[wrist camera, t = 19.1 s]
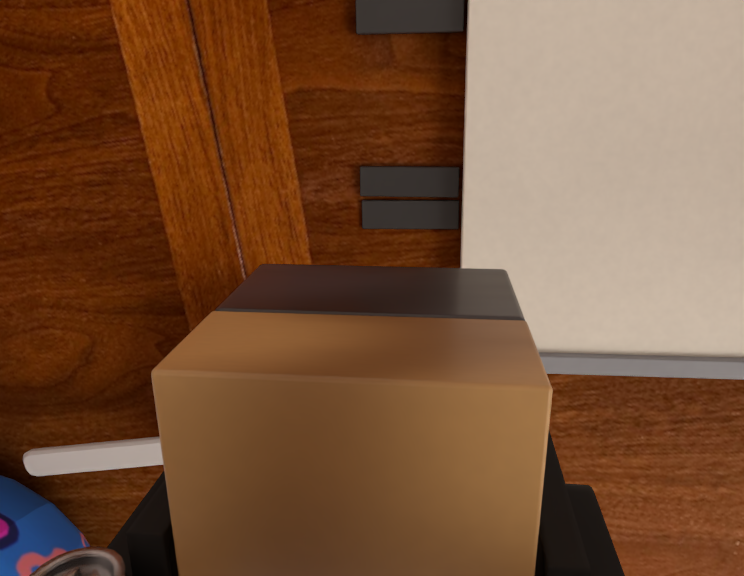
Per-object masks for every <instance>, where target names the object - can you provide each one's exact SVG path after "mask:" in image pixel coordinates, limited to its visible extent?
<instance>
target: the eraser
mask: <svg viewBox="0 0 744 576" xmlns="http://www.w3.org/2000/svg"><path fill="white" fill-rule="evenodd" d="M151 378H152V385H153V392H154V400H155V407H156V414H157V422H158V429H159V436H160V443H161V451H162V458H163V465H164V472H165V480H166V487H167V494H168V501H169V509H170V516H171V523H172V531H173V538H174V545H175V552H176V560H177V567H178V574H179V576H535V566H536V556H537V545H538V535H539V525H540V515H541V505H542V494H543V484H544V474H545V464H546V454H547V444H548V433H549V423H550V413H551V403H552V393H553V389H552V387H551V384H550V381H549V379H548V376H547V374H546V371H545V368H544V366H543V363H542V360H541V358H540V355H539V353H538V350H537V347H536V345H535V342H534V339H533V337H532V334H531V331H530V329H529V326H528V324H527V322H526V321H525V319H524V316H523V313H522V311H521V308H520V305H519V303H518V300H517V297H516V295H515V292H514V289H513V287H512V284H511V281H510V279H509V276H508V273H507V271H506V270H503V269H472V268H427V267H382V266H337V265H292V264H262V265H260V266H259V267H258V268H257V269H256V270H255V271H254V272H253V273H252V274H251V275H250V276H249V277H248V278H247V279H246V280H245V281H244V282H242V283H241V284H240V285H239V286H238V287H237V288H236V289H235V290H234V291H233V292H232V293H231V294H230V295H229V296H228V297H227V298H226V299H225V300H224V301H223V302H222V303H221V304H220V305H219V306H218V307H217V308H216V310H215V311H213V312H211V313H210V314H209V315H208V316H207V317H206V318H205V319H204V320H203V321H202V322H201V323H200V324H198V325H197V326H196V327H195V328H194V329H193V330H192V331H191V332H190V333H189V334H188V335H187V336H186V337H185V338H184V339H183V340H182V341H181V342H180V343H179V344H178V345H177V346H176V347H175V348H174V349H173V350H172V351H171V352H170V353H169V354H168V355H167V356H166V357H165V358H164V359H163V360H162V361H161V362H160V363H159V364H158V365H157V366H156V367H155V368H154V369H153V370H152V373H151Z"/></svg>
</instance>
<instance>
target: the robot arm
mask: <svg viewBox="0 0 744 576" xmlns="http://www.w3.org/2000/svg"><path fill="white" fill-rule="evenodd" d="M29 576H179V574H178V567H177V560H176V552H175V545H174V538H173V531H172V523H171V516H170V509H169V501H168V494H167V487H166V480H165V472H163V473H162V474H161V476H160V477H159V478H158V480H157V481H156V482H155V484H154V485H153V486H152V488H151V489H150V491H149V492H148V493H147V495H146V496H145V497H144V499H143V500H142V501H141V503H140V504H139V505H138V507H137V508H136V509H135V511H134V512H133V513H132V515H131V516H130V517H129V519H128V520H127V522H126V523H125V524H124V526H123V527H122V528H121V530H120V531H119V532H118V534H117V535H116V536H115V538H114V539H113V540H112V542H111V543H110V544H109V546H108V547H107V548H105V547H84V548H79V549H73V550H71V551H68V552H65V553H63V554H60V555H57V556H56V557H54V558H52V559H50V560H49V561H47V562H45V563H44V564H42V565H41V566H40V567H38V568H37V569H36V570H35V571H34V572H33V573H31V574H30V575H29ZM535 576H625V575H624V573H623V570H622V567H621V564H620V562H619V559H618V556H617V554H616V551H615V548H614V545H613V543H612V540H611V537H610V534H609V532H608V529H607V526H606V524H605V521H604V518H603V515H602V513H601V510H600V507H599V504H598V502H597V499H596V496H595V494H594V491H593V489H592V487H590V486H589V485H577V484H565V481H564V478H563V475H562V471H561V468H560V465H559V461H558V458H557V455H556V451H555V448H554V445H553V441H552V438H551V435H550V432H549V433H548V444H547V454H546V464H545V474H544V484H543V494H542V505H541V515H540V525H539V535H538V545H537V556H536V566H535Z"/></svg>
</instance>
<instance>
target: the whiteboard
mask: <svg viewBox="0 0 744 576" xmlns="http://www.w3.org/2000/svg"><path fill="white" fill-rule="evenodd" d="M460 268H472V269H503V270H506V271H507V273H508V276H509V279H510V281H511V284H512V287H513V289H514V292H515V295H516V297H517V300H518V303H519V305H520V308H521V311H522V313H523V316H524V319H525V321H526V322H527V324H528V326H529V329H530V331H531V334H532V337H533V339H534V342H535V345H536V347H537V350H538V353H539V355H540V358H541V360H542V363H543V366H544V368H545V371H546V373H548V374H580V375H613V376H645V377H678V378H710V379H742V380H744V0H468V7H467V42H466V78H465V114H464V150H463V186H462V222H461V257H460Z"/></svg>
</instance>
